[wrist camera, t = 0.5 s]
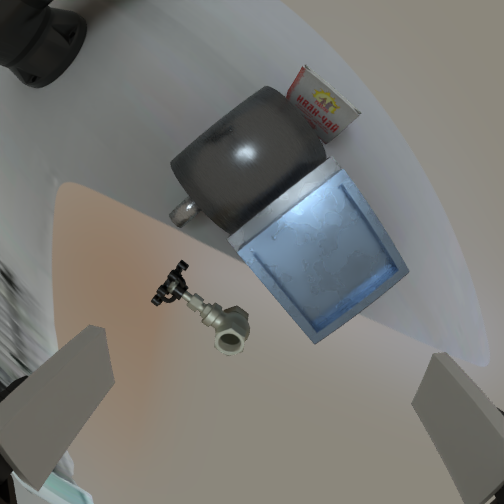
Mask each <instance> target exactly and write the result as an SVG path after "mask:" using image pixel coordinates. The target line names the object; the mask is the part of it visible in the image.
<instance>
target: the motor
mask: <svg viewBox="0 0 504 504" xmlns="http://www.w3.org/2000/svg"><path fill="white" fill-rule="evenodd" d="M170 164H171V168H172V170H173V172H174V174H175V176H176V178H177V179H178V181H179V182H180V184H181V185H182V187H183V188H184V189H185V191H186V192H187V193H188V195H189V197H187V198H186V199H185V200H184V201H183V202H182V203H181V204H180V205H179V206H177V207H176V208H175V209H174V210H173V211H172V212H171V213H170V214H169V217H170V219H171V220H172V222H173V223H174V224H175V225H176V226H177V227H179V228H182V227H183V226H184V225H185V224H186V223H188V222H189V221H190V220H191V219H192V218H193V217H194V216H196V215H197V214H198V213H199V212H200V211H201V210H202V211H203V212H204V213H205V214H206V215H207V216H208V217H209V218H210V219H211V220H212V221H213V222H214V223H215V224H217V225H218V226H219V227H220V228H222V229H223V230H224V231H226V232H228V233H230V236H229V237H228V238H227V241H228V242H229V243H230V244H231V245H232V247H233V248H234V249H235V250H236V251H237V253H238V254H239V255H240V257H241V258H242V259H243V260H244V261H245V263H246V264H247V265H248V266H249V267H250V269H251V270H252V271H253V272H254V273H255V275H256V276H257V277H258V278H259V279H260V280H261V282H262V283H263V284H264V285H265V287H267V289H268V290H269V291H270V292H271V294H272V295H273V296H274V297H275V298H276V299H277V301H278V302H279V303H280V304H281V306H282V307H283V308H284V309H285V310H286V311H287V313H288V314H289V315H290V316H291V317H292V319H293V320H294V321H295V322H296V323H297V324H298V326H299V327H300V328H301V329H302V330H303V331H304V333H305V334H306V335H307V336H308V337H309V338H310V340H311V341H312V342H313V343H314V344H317V343H318V342H319V341H321V340H322V339H324V338H325V337H327V336H328V335H329V334H331V333H332V332H334V331H335V330H336V329H338V328H339V327H341V326H342V325H344V324H345V323H346V322H348V321H349V320H350V319H352V318H353V317H354V316H356V315H357V314H358V313H360V312H361V311H362V310H364V309H365V308H366V307H368V306H369V305H370V304H371V303H373V302H374V301H375V300H377V299H378V298H379V297H380V296H382V295H383V294H384V293H385V292H386V291H388V290H389V289H390V288H391V287H393V286H394V285H395V284H396V283H397V282H398V281H400V280H401V279H402V278H403V277H404V276H406V275H407V274H408V273H409V270H408V268H407V266H406V264H405V262H404V261H403V259H402V257H401V255H400V254H399V252H398V250H397V249H396V247H395V245H394V244H393V242H392V240H391V239H390V237H389V235H388V234H387V232H386V231H385V229H384V227H383V226H382V224H381V223H380V221H379V220H378V218H377V216H376V215H375V213H374V212H373V210H372V209H371V207H370V206H369V204H368V203H367V201H366V200H365V198H364V197H363V196H362V194H361V193H360V191H359V190H358V188H357V187H356V186H355V184H354V183H353V181H352V180H351V179H350V177H349V176H348V175H347V173H346V172H345V170H344V169H341V167H340V166H339V165H338V163H337V162H336V161H335V160H334V158H333V157H332V156H331V157H329V158H327V159H326V153H325V150H324V148H323V145H322V143H321V141H320V139H319V138H318V136H317V134H316V133H315V131H314V129H313V128H312V127H311V125H310V124H309V122H308V121H307V120H306V118H305V117H304V116H303V115H302V114H301V112H300V111H299V110H298V109H297V108H296V107H295V106H294V105H293V104H292V103H291V102H290V101H289V100H288V99H287V98H286V97H285V96H283V95H282V94H281V93H280V92H278V91H277V90H275V89H273V88H271V87H269V86H264V87H263V88H261V89H260V90H259V91H257V92H256V93H254V94H253V95H252V96H250V97H249V98H247V99H246V100H245V101H243V102H242V103H241V104H239V105H238V106H237V107H235V108H234V109H233V110H231V111H230V112H229V113H228V114H226V115H225V116H224V117H222V118H221V119H220V120H219V121H217V122H216V123H215V124H214V125H212V126H211V127H210V128H209V129H208V130H206V131H205V132H204V133H203V134H202V135H200V136H199V137H198V138H197V139H196V140H194V141H193V142H192V143H191V144H190V145H189V146H188V147H186V148H185V149H184V150H183V151H182V152H181V153H180V154H179V155H177V156H176V157H175V158H174V159H173V160H172V161H171V162H170Z"/></svg>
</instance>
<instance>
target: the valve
mask: <svg viewBox="0 0 504 504" xmlns="http://www.w3.org/2000/svg"><path fill="white" fill-rule="evenodd" d="M188 267H189V265H188V264H186V263H185V262H184V261H183V260H181V261H180V262H179V263H178V265H177V267H176V269H175V270H172V271H171V272H170V274H169V275H168V279H167V280H166V281H165V283H164V284H163V285H161V286H160V287H159V288H158V290H157V294H156V295H155V296H154V297H153V299H152V300H151V302H152V303H153V304H154V305H156V306H158V305H160V304H161V303H162V302H163V301H164V302H166V303H171V302H173V301H175V300H176V298H177V299H178V300H180V298H181V297H182V298H184V299H185V300H186V301H187V302H188V303H187V306H188V307H189V308H190V309H192V310H193V311H194V312H195V311H196V310H198V311H199V312H200V316H201V317H202V318H203V319H202V323H204V324H205V325H206V326H208V327H209V326H210V325H211V326H212V327H214V328H215V331H216V335H215V345H214V347H215V348H216V349H217V350H219V351H220V352H221V353H223V354H225V355H227V356H231V355H235V354H238V353H241V352H243V349H244V342H245V341H246V340H247V338H248V336H249V333H250V327H249V323H248V313H247V312H245V311H244V310H243V309H241V308H240V307H238V306H234V307H231V308H228V309H225V310H224V311H222V307H221V306H220V305H218V304H217V303H214V304H213V305H211V304H210V303H208V304H205V303H203V301H204V299H203V298H201V297H200V296H199V295H197V294H196V293H195V294H194V295H191V294H190V293H189V292H188V291H186V290H187V289H188V286H186V282H185V280H184V279H183V277H182V275H181V272H182V269H183V270H185V271H186V269H187V268H188ZM169 293H170V294H172V295H173V296H172V297H171V298H170V299H168V298H166V297H165V294H167V295H168V294H169Z"/></svg>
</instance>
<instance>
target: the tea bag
mask: <svg viewBox="0 0 504 504" xmlns="http://www.w3.org/2000/svg"><path fill="white" fill-rule="evenodd" d="M286 98H287V99H288V100H289V101H290V102H291V103H292V104H293V105H294V106H295V107H296V108H297V109H298V110H299V111H300V112H301V114H302V115H303V116H304V117H305V118H306V120H307V121H308V122H309V124H310V125H311V127H312V128H313V129H314V131H315V133H316V134H317V136H318V137H319V138H320V139H321V140H322V141H323V142H324V143H325V144H327V143H328V142H329V141H331V140H332V139H333V138H335V137H336V136H337V135H338V134H339V133H340V132H342V131H343V130H344V129H345V128H346V127H347V126H348V125H349V124H350V123H352V122H353V121H354V120H355V119H356V118H357V117H358V116H359V115H358V114H361V112H360V111H359V110H358V109H357V108H356V107H354V106H353V105H352V104H351V103H350V102H349V101H348V100H347V99H346V98H345V97H344V96H343V95H341V94H340V93H339V92H338V91H337V90H336V89H335V88H333V87H332V86H331V85H330V84H329V83H328V82H326V81H325V80H324V79H323V78H322V77H320V76H319V75H318V74H317V73H316V72H314V71H313V70H312V69H310V68H309V67H308V66H307V65H305V67H303V66H302V68H301V70H300V72H299V74H298V75H297V77H296V79H295V80H294V82H293V83H292V85H291V87H290V88H289V90H288V92H287V96H286Z"/></svg>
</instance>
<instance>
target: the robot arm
mask: <svg viewBox="0 0 504 504" xmlns="http://www.w3.org/2000/svg"><path fill="white" fill-rule="evenodd" d="M52 1H53V0H0V65H2V66H5V67H7V68H9V69H10V70H11V71H12V72H13V73H14V74H15V75H16V76H17V78H18V79H19V80H20V81H21V82H22V83H24V84H25V85H28V86H31V87H34V88H39V87H43V86H45V85H47V84H49V83H51V82H52V81H53V80H55V79H56V78H57V77H58V76H59V75H61V74H62V73H63V72H64V70H65V69H66V68H67V67H68V66H69V65H70V63H71V62H72V61H73V59H74V58H75V56H76V55H77V53H78V52H79V50H80V48H81V46H82V44H83V41H84V38H85V35H86V29H87V26H86V22H85V20H84V19H83V18H82V17H81V16H80V15H78V14H77V13H75V12H73V11H68V10H62V9H56V8H51V7H49V6H48V5H49V4H50V3H51V2H52ZM114 383H115V381H114V376H113V371H112V366H111V362H110V356H109V351H108V346H107V339H106V332H105V328H101V327H96V326H93V325H89V326H88V327H86V328H85V329H84V330H83V331H81V332H80V333H79V334H78V335H77V336H75V337H74V338H73V339H72V340H71V341H69V342H68V343H67V344H66V345H65V346H64V347H62V348H61V349H60V350H59V351H58V352H56V353H55V354H54V355H53V356H52V357H51V358H49V359H48V360H47V361H46V362H45V363H44V364H43V365H41V366H40V367H39V368H38V369H37V370H36V371H35V372H34V373H32V374H31V375H30V376H27V375H26V376H24V377H21V378H19V379H17V380H15V381H14V382H12V383H11V384H10V385H9V386H8V387H7V388H6V390H3V391H2V392H1V393H0V504H17V500H16V494H15V488H14V482H13V478H12V476H11V475H10V474H11V473H12V471H14V472H15V473H16V474H17V476H18V477H19V478H20V479H21V480H22V481H23V482H25V483H26V484H27V485H29V486H30V487H32V488H33V489H35V490H36V491H39V490H40V488H41V487H42V485H43V484H44V482H45V481H46V479H47V478H48V476H49V475H50V473H51V472H52V470H53V469H54V467H55V466H56V465H57V463H58V462H59V460H60V459H61V457H62V456H63V454H64V453H65V451H66V450H67V449H68V447H69V446H70V444H71V443H72V441H73V440H74V439H75V437H76V436H77V434H78V433H79V431H80V430H81V429H82V427H83V426H84V424H85V423H86V422H87V420H88V419H89V418H90V416H91V415H92V413H93V412H94V411H95V409H96V408H97V406H98V405H99V404H100V402H101V401H102V400H103V398H104V397H105V395H106V394H107V393H108V391H109V390H110V389H111V387H112V386H113V385H114ZM411 404H412V406H413V408H414V410H415V411H416V413H417V415H418V416H419V418H420V420H421V422H422V423H423V425H424V427H425V429H426V431H427V432H428V434H429V435H430V437H431V440H432V441H433V443H434V445H435V447H436V449H437V451H438V452H439V454H440V456H441V458H442V460H443V462H444V464H445V465H446V467H447V469H448V471H449V473H450V475H451V477H452V479H453V481H454V483H455V485H456V487H457V489H458V491H459V493H460V496H461V497H462V500H463V502H464V504H485V503H486V502H487V501H488V500H489V499H490V498H491V497H492V496H493V495H495V497H496V498H495V499H494V500H493V501H492V502H491V503H490V504H504V412H503V411H501V410H500V409H498V408H497V407H496V406H495V405H494V404H493V403H492V402H491V401H490V399H489V398H488V397H487V396H486V395H485V394H484V393H483V392H482V390H481V389H480V388H479V387H478V386H477V385H476V384H475V383H474V382H473V380H472V379H471V378H470V377H469V376H468V375H467V374H466V373H465V372H464V371H463V370H462V369H461V368H460V366H458V364H457V363H456V362H455V361H454V360H453V359H452V358H451V357H450V356H449V355H448V354H447V353H446V352H444V353H434V354H433V355H432V357H431V360H430V363H429V365H428V368H427V370H426V372H425V375H424V377H423V380H422V382H421V384H420V386H419V388H418V391H417V393H416V395H415V397H414V399H413V401H412V403H411Z"/></svg>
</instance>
